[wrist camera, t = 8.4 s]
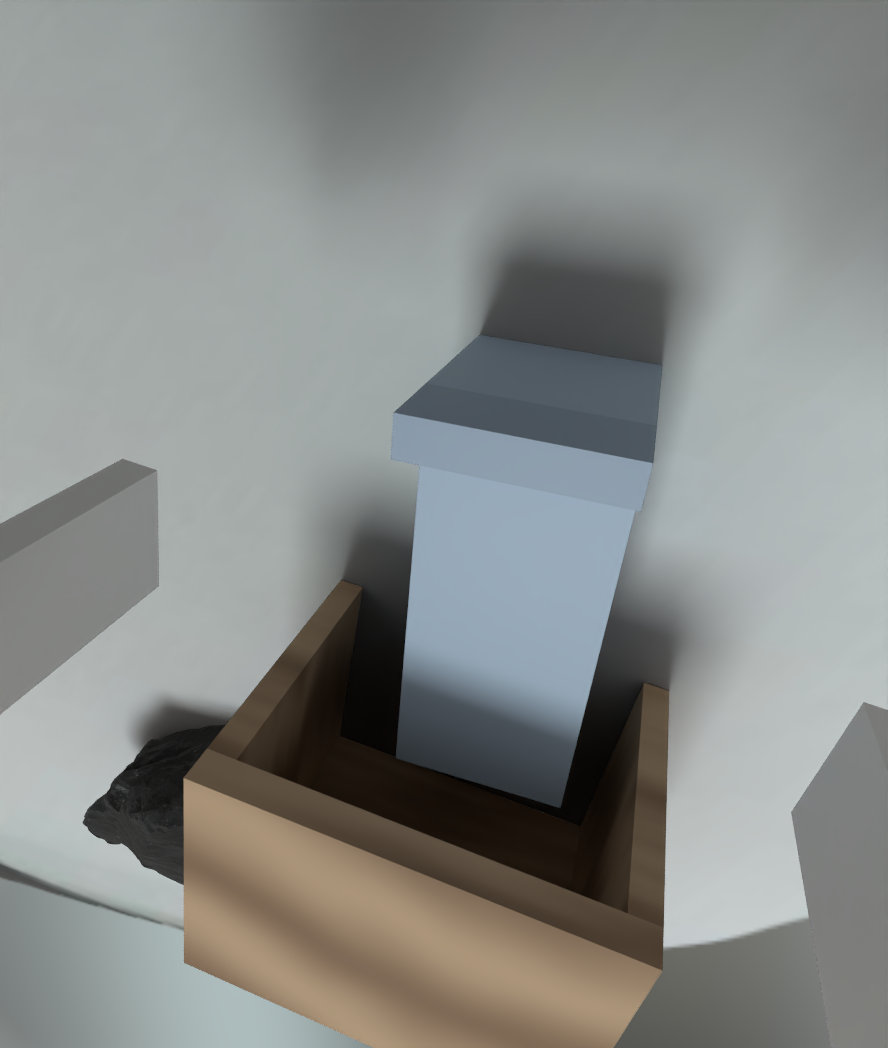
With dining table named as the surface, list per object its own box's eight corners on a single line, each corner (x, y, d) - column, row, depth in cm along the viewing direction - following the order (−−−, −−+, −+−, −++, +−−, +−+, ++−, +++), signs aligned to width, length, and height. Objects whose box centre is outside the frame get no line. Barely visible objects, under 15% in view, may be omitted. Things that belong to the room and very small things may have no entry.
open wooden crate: (341, 579, 30) (183, 777, 21) (669, 691, 28) (662, 970, 18) (318, 743, 35) (184, 962, 26) (595, 847, 33) (559, 1131, 23)
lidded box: (480, 333, 24) (393, 412, 17) (662, 363, 23) (653, 463, 15) (443, 657, 31) (369, 813, 23) (581, 694, 29) (548, 870, 22)
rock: (195, 656, 35) (114, 740, 30) (345, 760, 35) (288, 860, 30) (142, 759, 40) (66, 844, 36) (272, 849, 41) (214, 946, 36)
